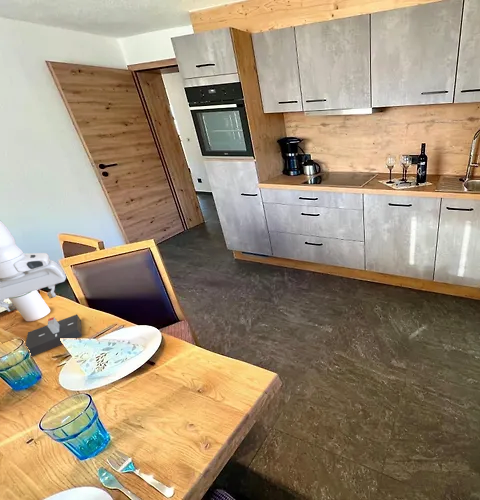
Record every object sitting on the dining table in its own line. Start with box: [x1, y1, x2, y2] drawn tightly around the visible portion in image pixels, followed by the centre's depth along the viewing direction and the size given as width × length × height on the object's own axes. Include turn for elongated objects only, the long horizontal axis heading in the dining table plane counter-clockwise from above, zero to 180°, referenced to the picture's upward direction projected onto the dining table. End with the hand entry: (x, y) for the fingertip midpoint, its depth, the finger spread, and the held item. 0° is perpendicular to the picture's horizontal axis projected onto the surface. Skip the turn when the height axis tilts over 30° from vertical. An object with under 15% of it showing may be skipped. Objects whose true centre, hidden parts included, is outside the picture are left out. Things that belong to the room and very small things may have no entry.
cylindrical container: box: [8, 290, 51, 322], centre depth 105 cm, size 7×7×25 cm
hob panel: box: [25, 314, 83, 357], centre depth 98 cm, size 13×11×3 cm
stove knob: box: [47, 316, 60, 334], centre depth 97 cm, size 5×2×4 cm, turn 41°
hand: (33, 303), depth 92 cm, fingers open, 8 cm apart
